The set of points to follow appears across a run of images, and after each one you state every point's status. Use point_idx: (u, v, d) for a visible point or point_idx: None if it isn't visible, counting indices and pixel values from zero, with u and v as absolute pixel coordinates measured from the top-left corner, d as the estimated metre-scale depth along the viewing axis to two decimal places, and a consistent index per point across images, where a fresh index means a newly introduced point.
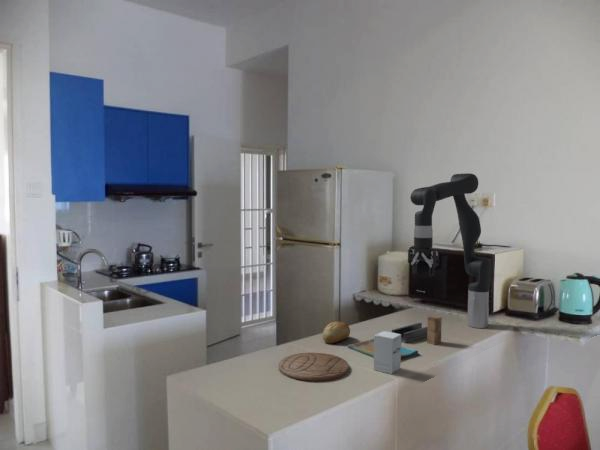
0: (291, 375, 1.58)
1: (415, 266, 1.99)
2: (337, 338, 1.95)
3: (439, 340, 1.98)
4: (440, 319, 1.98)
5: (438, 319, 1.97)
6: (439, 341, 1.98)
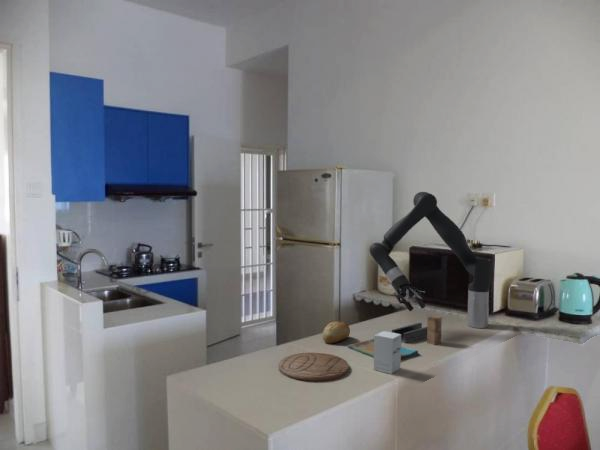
0: (291, 375, 1.58)
1: (419, 301, 2.08)
2: (337, 338, 1.95)
3: (439, 340, 1.98)
4: (440, 319, 1.98)
5: (438, 319, 1.97)
6: (439, 341, 1.98)
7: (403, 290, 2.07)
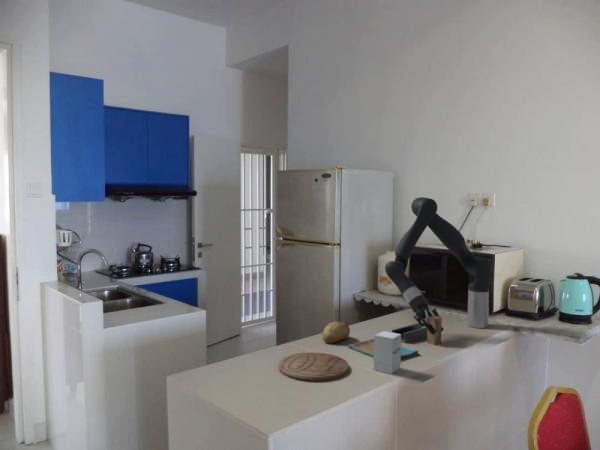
0: (291, 375, 1.58)
1: None
2: (337, 338, 1.95)
3: (439, 340, 1.98)
4: (440, 319, 1.98)
5: (438, 319, 1.97)
6: (439, 341, 1.98)
7: (422, 312, 1.99)
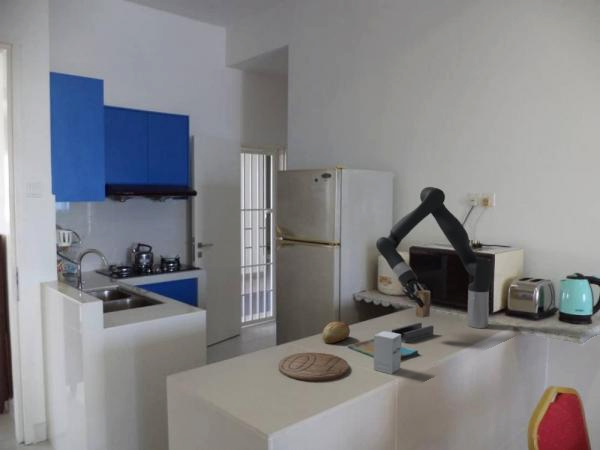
0: (291, 375, 1.58)
1: None
2: (337, 338, 1.95)
3: (428, 313, 2.02)
4: (429, 293, 2.02)
5: (427, 293, 2.01)
6: (428, 314, 2.02)
7: (411, 286, 2.03)
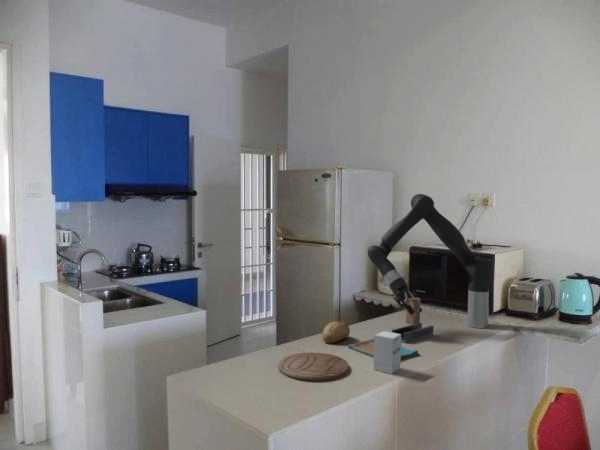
0: (291, 375, 1.58)
1: None
2: (336, 338, 1.95)
3: (418, 320, 2.06)
4: (419, 300, 2.06)
5: (417, 300, 2.05)
6: (418, 321, 2.06)
7: (401, 293, 2.07)
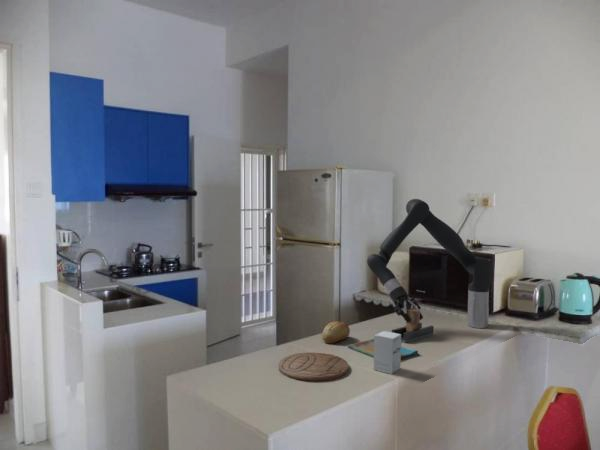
0: (291, 375, 1.58)
1: None
2: (336, 338, 1.95)
3: None
4: (418, 312, 2.06)
5: (416, 312, 2.05)
6: None
7: (401, 302, 2.08)
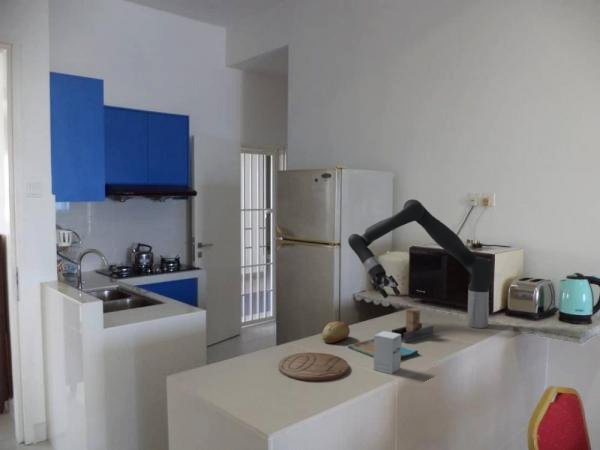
0: (291, 375, 1.58)
1: (394, 289, 2.19)
2: (336, 338, 1.95)
3: None
4: (418, 312, 2.06)
5: (416, 312, 2.05)
6: None
7: (379, 278, 2.17)
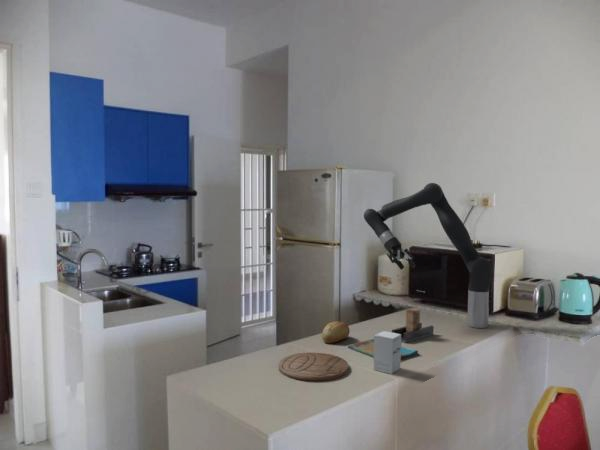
0: (291, 375, 1.58)
1: (410, 262, 2.24)
2: (336, 338, 1.95)
3: None
4: (418, 312, 2.06)
5: (416, 312, 2.05)
6: None
7: (395, 251, 2.22)
